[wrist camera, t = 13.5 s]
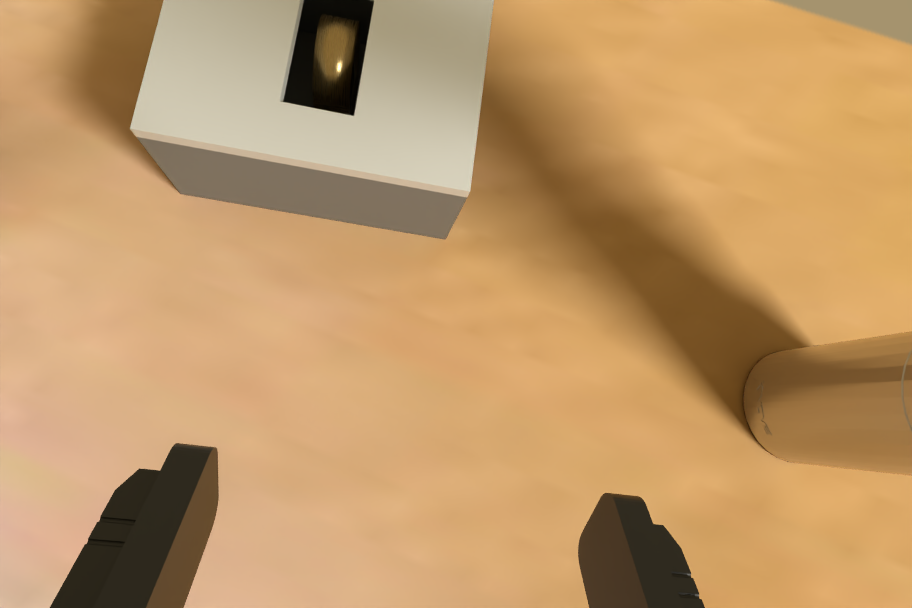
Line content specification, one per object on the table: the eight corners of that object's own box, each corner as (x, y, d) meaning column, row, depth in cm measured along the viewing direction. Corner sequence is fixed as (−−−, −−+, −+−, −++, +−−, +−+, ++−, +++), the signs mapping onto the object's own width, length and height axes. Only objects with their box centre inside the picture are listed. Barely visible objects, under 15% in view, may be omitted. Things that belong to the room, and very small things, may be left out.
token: (359, 74, 46) (360, 1, 38) (349, 143, 45) (348, 82, 37) (328, 69, 46) (323, -7, 38) (317, 138, 45) (309, 75, 36)
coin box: (468, 61, 49) (497, -27, 39) (445, 239, 45) (470, 191, 36) (224, 7, 46) (190, -102, 36) (180, 193, 43) (129, 128, 33)
